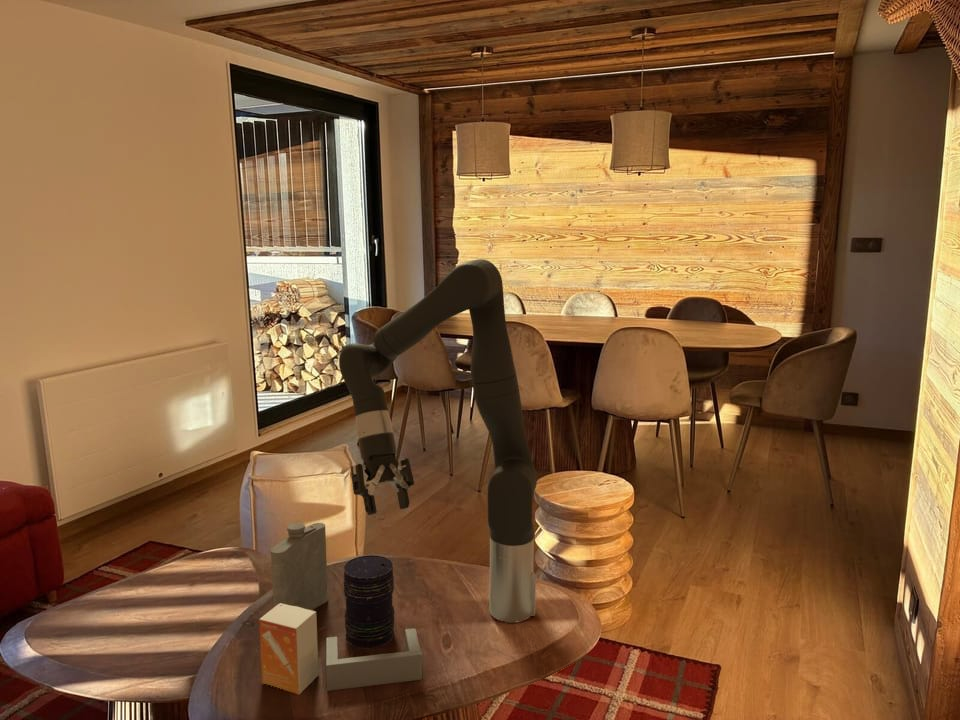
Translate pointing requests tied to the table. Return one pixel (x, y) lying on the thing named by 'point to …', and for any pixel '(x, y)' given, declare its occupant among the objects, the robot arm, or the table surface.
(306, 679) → the small box
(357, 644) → the black ribbed barrel
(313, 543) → the hip flask
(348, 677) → the grey u-shaped frame
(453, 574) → the table surface
